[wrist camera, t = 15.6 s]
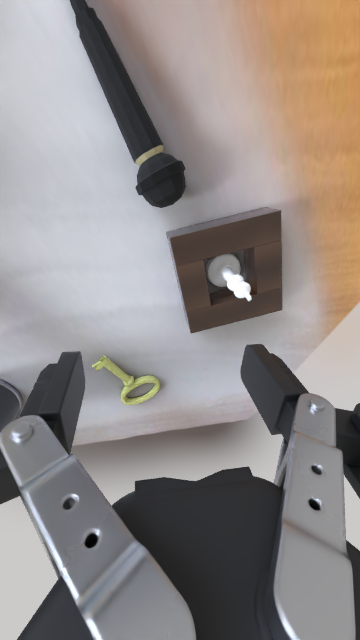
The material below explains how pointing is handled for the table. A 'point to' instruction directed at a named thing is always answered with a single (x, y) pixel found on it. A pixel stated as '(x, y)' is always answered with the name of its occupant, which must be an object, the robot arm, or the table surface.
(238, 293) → the chess piece
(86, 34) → the microphone
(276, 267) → the holder
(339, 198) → the table surface
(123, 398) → the key
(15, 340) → the table surface
